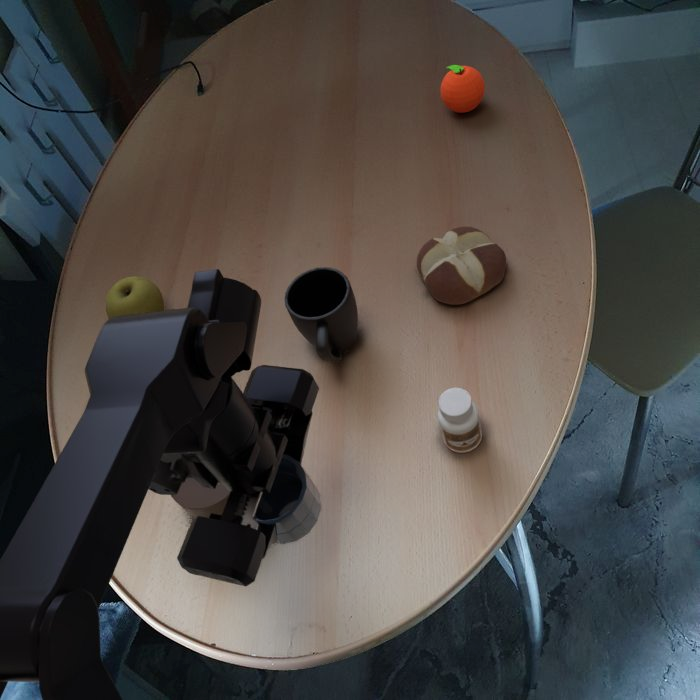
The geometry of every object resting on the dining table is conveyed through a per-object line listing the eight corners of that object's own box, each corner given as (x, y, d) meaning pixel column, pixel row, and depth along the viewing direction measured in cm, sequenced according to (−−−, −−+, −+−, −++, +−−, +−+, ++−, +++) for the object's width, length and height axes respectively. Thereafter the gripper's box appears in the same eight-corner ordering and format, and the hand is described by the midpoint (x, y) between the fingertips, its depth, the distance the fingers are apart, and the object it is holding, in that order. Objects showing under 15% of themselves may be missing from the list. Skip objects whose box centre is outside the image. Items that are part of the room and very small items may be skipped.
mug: (306, 394, 84) (282, 351, 77) (306, 319, 91) (284, 273, 84) (370, 384, 83) (352, 339, 75) (365, 308, 90) (348, 260, 82)
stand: (247, 535, 75) (226, 515, 70) (178, 521, 78) (154, 501, 73) (272, 462, 80) (254, 438, 75) (206, 452, 83) (185, 429, 78)
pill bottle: (449, 458, 75) (440, 425, 69) (438, 425, 77) (429, 390, 71) (487, 447, 74) (482, 412, 68) (475, 414, 77) (469, 378, 71)
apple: (183, 313, 97) (161, 281, 92) (143, 352, 95) (117, 322, 89) (153, 293, 101) (129, 261, 96) (113, 330, 99) (87, 300, 93)
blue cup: (310, 551, 62) (292, 530, 58) (245, 538, 64) (223, 517, 60) (331, 483, 65) (315, 459, 61) (268, 473, 68) (248, 448, 63)
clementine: (430, 107, 111) (424, 69, 106) (464, 87, 112) (459, 47, 107) (461, 127, 107) (456, 88, 101) (495, 106, 108) (492, 65, 102)
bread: (438, 317, 86) (432, 293, 82) (410, 258, 93) (404, 233, 89) (520, 287, 86) (519, 261, 82) (486, 230, 93) (483, 203, 89)
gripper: (177, 319, 59) (242, 408, 71) (77, 524, 49) (172, 585, 62) (293, 330, 55) (340, 421, 67) (209, 553, 45) (282, 612, 58)
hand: (283, 504), depth 64 cm, fingers closed on blue cup, 7 cm apart
